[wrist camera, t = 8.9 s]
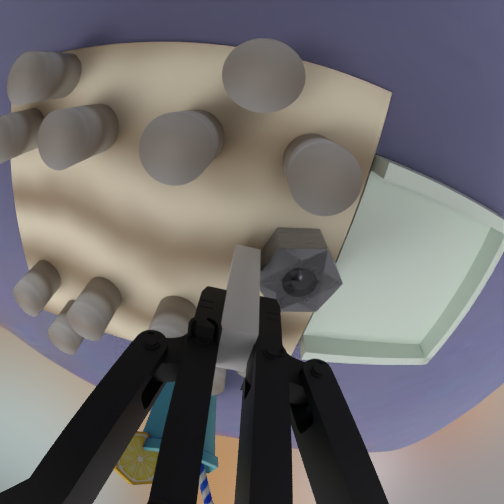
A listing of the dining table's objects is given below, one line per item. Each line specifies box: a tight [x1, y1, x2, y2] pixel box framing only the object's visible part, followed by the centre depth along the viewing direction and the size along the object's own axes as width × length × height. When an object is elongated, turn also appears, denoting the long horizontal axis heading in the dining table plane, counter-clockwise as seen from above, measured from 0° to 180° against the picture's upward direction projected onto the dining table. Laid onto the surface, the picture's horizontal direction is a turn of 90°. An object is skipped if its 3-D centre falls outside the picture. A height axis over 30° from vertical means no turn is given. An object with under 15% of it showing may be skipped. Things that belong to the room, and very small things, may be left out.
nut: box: [260, 227, 343, 312], centre depth 16 cm, size 4×5×2 cm
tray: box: [299, 154, 504, 365], centre depth 18 cm, size 16×14×2 cm
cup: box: [114, 382, 218, 504], centre depth 20 cm, size 14×8×15 cm, turn 48°
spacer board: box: [0, 38, 392, 396], centre depth 16 cm, size 24×26×5 cm
